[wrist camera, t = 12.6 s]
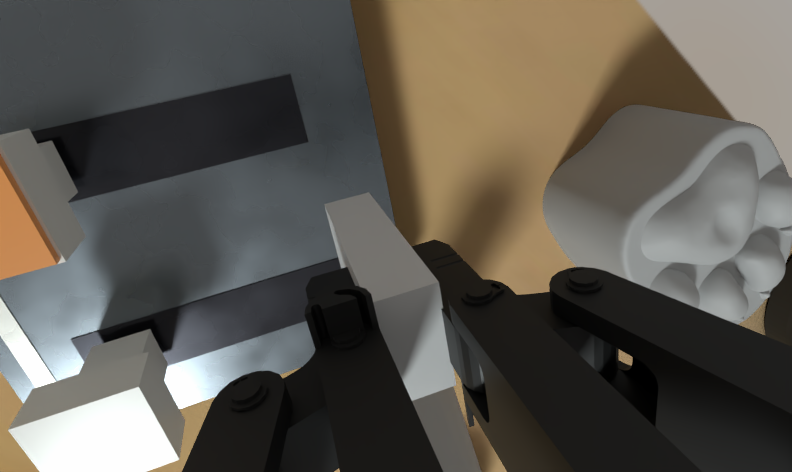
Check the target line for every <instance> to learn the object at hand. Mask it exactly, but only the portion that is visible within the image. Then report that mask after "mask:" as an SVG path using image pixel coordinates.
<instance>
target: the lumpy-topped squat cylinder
mask: <svg viewBox="0 0 792 472" xmlns="http://www.w3.org/2000/svg"><path fill="white" fill-rule="evenodd" d="M543 214H544V218H545V221H546V224H547V226H548V228H549V230H550V231H551V233H552V235H553V236H554V238H555V240H556V241H557V243H558V244H559V246H560V248H561V249H562V250H563V252H564V253H565V254H566V255H567V257H568V258H569V259H570V260H571V261H572V262H573V264H574V265H575V266H576V267H589V268H597V269H600V270H604V271H607V272H610V273H612V274H614V275H617V276H619V277H622V278H624V279H627V280H629V281H632V282H634V283H637V284H639V285H642V286H644V287H646V288H649V289H651V290H654V291H656V292H659V293H661V294H664V295H666V296H669V297H671V298H674V299H676V300H678V301H681V302H683V303H686V304H688V305H691V306H693V307H696V308H698V309H701V310H703V311H705V312H708V313H710V314H713V315H715V316H718V317H720V318H723V319H725V320H728V321H730V322H733V323H735V324H739V323H741V322H743V321H744V320H746V319H747V318H748V317H750V316H751V315H752V314H753V313H754V312H755V311H756V310H757V309H758V308H759V307H760V306H761V304H762V303H763V302H764V301H765V299H767V298H769V297H770V292H771V291H772V289H773V288H774V287H776V286H777V285H778V284H779V282H780V281H781V280H782V278H783V276H784V274H785V270H786V262H787V259H788V256H789V253H790V249H791V245H792V178H791V177H789V175H788V173H787V170H786V167H785V165H784V163H783V161H782V159H781V158H780V156H779V154H778V151H777V149H776V147H775V146H774V144H773V142H772V140H771V138H770V137H769V136H768V134H767V133H766V132H765V131H764V130H763V129H761V128H760V127H758V126H756V125H753V124H750V123H745V122H739V121H733V120H727V119H721V118H716V117H710V116H705V115H699V114H693V113H687V112H681V111H675V110H669V109H663V108H657V107H651V106H645V105H629V106H626V107H623V108H621V109H620V110H618V111H617V112H616V113H614V114H613V115H612V116H611V117H610V118H609V119H608V120H607V121H606V123H605V124H604V125H603V126H602V127H601V129H600V130H599V131H598V133H597V134H596V135H595V136H594V137H593V139H592V140H591V141H590V142H589V143H588V144H587V145H586V146H585V147H584V148H582V149H581V150H580V151H579V152H577V153H576V154H575V155H573V156H572V157H571V158H569V159H568V160H567V161H565V162H564V163H563V164H562V165H561V166H560V167H559V168H558V169H557V170H556V171H555V172H554V173H553V174H552V176H551V177H550V179H549V181H548V183H547V185H546V188H545V191H544V196H543Z"/></svg>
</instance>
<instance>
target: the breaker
mask: <svg viewBox="0 0 792 472" xmlns="http://www.w3.org/2000/svg"><path fill="white" fill-rule="evenodd" d="M167 366H168V363H167V361H166V359H165V357H164V355H163V353H162V351H161V349H160V347H159V345H158V343H157V341H156V339H155V338H154V336H153V334H152V332H151V330H150V329H148V330H145V331H142V332H138V333H135V334H132V335H129V336H126V337H122V338H119V339H116V340H113V341H109V342H106V343H103V344H100V345H97V346H93V347H92V348H91V350H90V352H89V354H88V356H87V358H86V360H85V362H84V364H83V366H82V368H81V370H80V372H79V374H77V375H74V376H71V377H68V378H65V379H62V380H59V381H55V382H52V383H49V384H46V385H43V386H40V387H37V388H33V389H32V391H31V392H30V394H29V396H28V397H27V399H26V401H25V402H24V404H23V406H22V407H21V409H20V411H19V412H18V414H17V416H16V417H15V419H14V421H13V422H12V424H11V426H10V428H9V429H8V431H9V432H10V433H11V435H12V436H13V437H14V439H15V440H16V441H17V442H18V444H19V445H20V446H21V448H22V449H23V450H24V452H25V453H26V454H27V456H28V457H29V458H30V460H31V461H32V462H33V463H34V465H35V466H36V467H37V469H38V470H39V471H40V472H146V471H149V470H152V469H155V468H157V467H160V466H163V465H166V464H168V463H171V462H174V461H177V460H179V459H180V452H181V445H182V438H183V431H184V424H185V419H184V418H183V416H182V414H181V412H180V410H179V408H178V406H177V404H176V402H175V400H174V398H173V397H172V395H171V393H170V391H169V389H168V387H167V385H166V383H165V381H164V379H165V375H166V370H167Z"/></svg>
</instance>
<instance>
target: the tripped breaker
mask: <svg viewBox="0 0 792 472" xmlns="http://www.w3.org/2000/svg"><path fill="white" fill-rule="evenodd" d="M77 193H78V191H77V189H76V187H75V185H74V183H73V181H72V179H71V177H70V175H69V173H68V171H67V169H66V167H65V165H64V163H63V161H62V159H61V157H60V155H59V153H58V151H57V149H56V148H55V146H54V144H53V142H52V141H48V142H43V143H39V144H37V142H36V140H35V139H34V137H33V135H32V133H31V131H30V129H24V130H20V131H15V132H10V133H6V134H1V135H0V280H2V279H5V278H9V277H13V276H16V275H20V274H23V273H27V272H31V271H34V270H38V269H42V268H45V267H49V266H53V265H56V264H60V263H64V262H66V261H67V260H68V258H69V257H70V256H71V255H72V253H73V252H74V251H75V250H76V248H77V247H78V246H79V244H80V243H81V242H82V241H83V239H84V238H85V237H86V235H85V234H84V232H83V230H82V228H81V226H80V224H79V222H78V220H77V218H76V216H75V215H74V213H73V211H72V209H71V207H70V205H69V203H68V201H69V200H70V199H71V198H72V197H73V196H75V195H76V194H77Z"/></svg>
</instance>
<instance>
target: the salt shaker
mask: <svg viewBox="0 0 792 472" xmlns="http://www.w3.org/2000/svg"><path fill="white" fill-rule="evenodd" d="M412 402H413V405H414V407H415V409H416V411H417V414H418V416H419V418H420V420H421V423H422V425H423V427H424V429H425V432H426V434H427V436H428V438H429V441H430V443H431V445H432V447H433V450H434V452H435V454H436V456H437V459H438V461H439V463H440V465H441V468H442V470H443V472H481V469H480V466H479V463H478V460H477V457H476V454H475V451H474V448H473V445H472V442H471V439H470V436H469V433H468V430H467V427H466V424H465V420H464V417H463V414H462V411H461V408H460V405H459V402H458V399H457V396H456V393H455V390H454V387H450V388H447V389H444V390H441V391H438V392H436V393H433V394H430V395H427V396H424V397H421V398H419V399H416V400H413V401H412Z"/></svg>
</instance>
